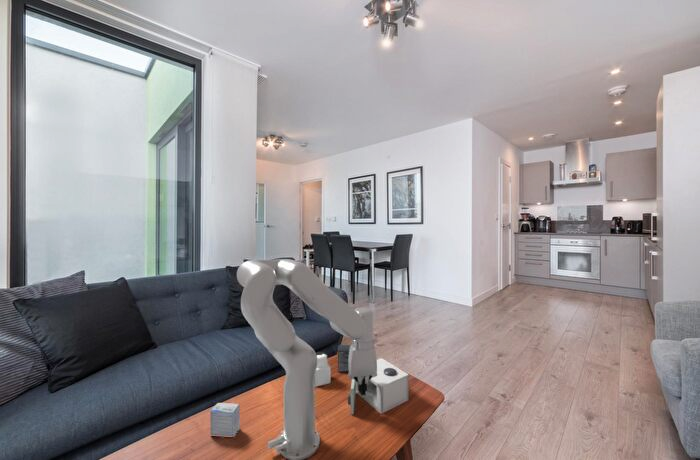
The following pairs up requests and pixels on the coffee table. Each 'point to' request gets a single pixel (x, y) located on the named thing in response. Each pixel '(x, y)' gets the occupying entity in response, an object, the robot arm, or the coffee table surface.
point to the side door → (352, 396)
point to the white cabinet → (386, 387)
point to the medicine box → (225, 419)
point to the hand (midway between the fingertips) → (362, 393)
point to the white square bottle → (322, 370)
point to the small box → (343, 358)
